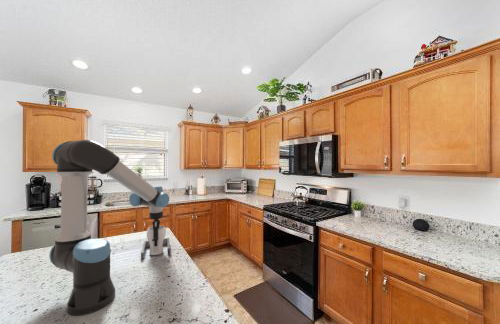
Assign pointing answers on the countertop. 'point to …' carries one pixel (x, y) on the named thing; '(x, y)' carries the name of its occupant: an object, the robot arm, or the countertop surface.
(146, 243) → the channel
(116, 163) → the robot arm
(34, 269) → the countertop surface
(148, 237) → the cup
